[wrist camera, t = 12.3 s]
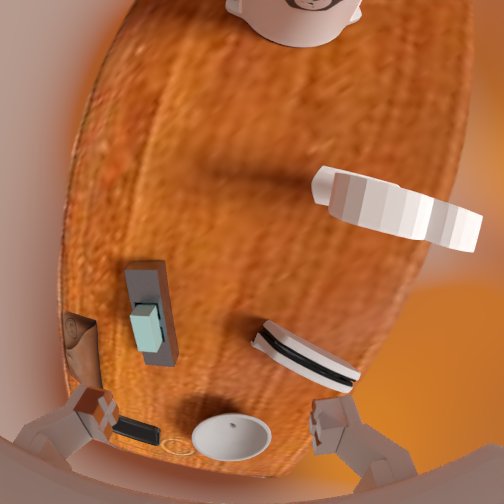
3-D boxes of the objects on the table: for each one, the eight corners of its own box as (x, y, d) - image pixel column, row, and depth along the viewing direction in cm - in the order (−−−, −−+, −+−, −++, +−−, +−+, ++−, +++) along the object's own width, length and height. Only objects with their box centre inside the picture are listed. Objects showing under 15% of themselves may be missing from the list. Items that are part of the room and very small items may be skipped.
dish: (247, 449, 52) (247, 466, 48) (185, 432, 51) (181, 450, 46) (285, 405, 48) (287, 425, 43) (212, 384, 46) (208, 404, 41)
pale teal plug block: (144, 295, 40) (129, 315, 34) (161, 295, 40) (149, 316, 34) (150, 328, 42) (138, 350, 36) (167, 329, 42) (157, 352, 36)
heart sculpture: (410, 188, 35) (498, 213, 18) (402, 222, 37) (484, 265, 20) (307, 162, 35) (356, 164, 18) (300, 200, 36) (342, 235, 19)
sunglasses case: (59, 306, 42) (57, 328, 36) (95, 307, 45) (97, 329, 40) (70, 376, 47) (72, 400, 42) (100, 376, 51) (105, 399, 45)
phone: (159, 446, 52) (100, 427, 51) (160, 443, 53) (102, 424, 52) (159, 430, 50) (96, 408, 49) (160, 426, 51) (98, 405, 50)
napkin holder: (248, 341, 43) (262, 366, 33) (264, 315, 43) (282, 334, 33) (327, 380, 46) (354, 406, 36) (342, 358, 46) (372, 380, 36)
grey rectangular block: (134, 260, 39) (124, 269, 35) (164, 260, 39) (156, 270, 35) (152, 351, 44) (145, 364, 40) (179, 353, 44) (174, 366, 40)
